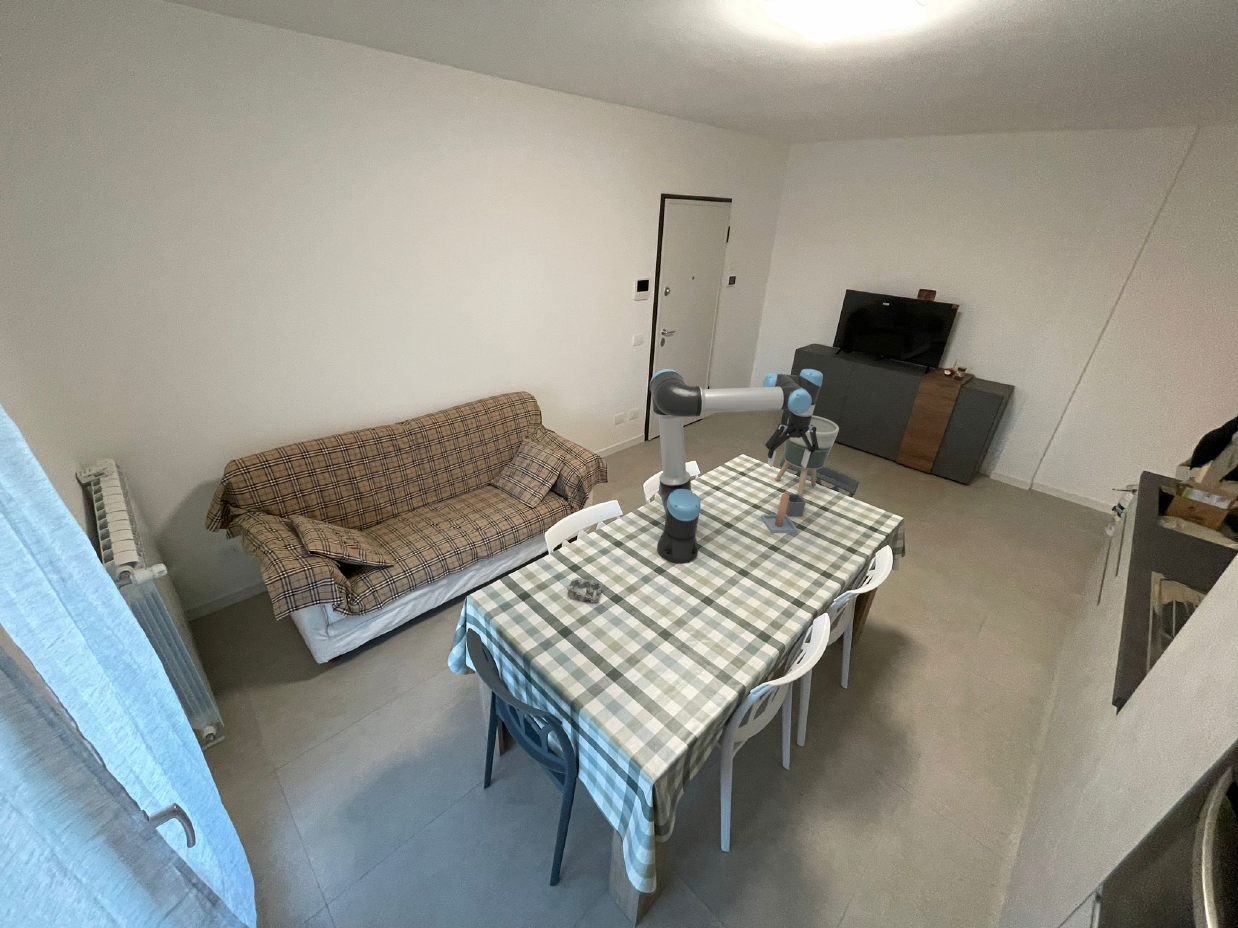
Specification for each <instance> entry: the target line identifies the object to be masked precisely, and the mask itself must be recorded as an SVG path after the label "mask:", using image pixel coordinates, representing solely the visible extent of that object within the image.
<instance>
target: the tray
mask: <svg viewBox="0 0 1238 928" xmlns="http://www.w3.org/2000/svg"><path fill="white" fill-rule="evenodd" d="M776 517H777V514H761V516H760V519H761V521H762V522H763V523H764V525H765V527H766V528H767V530H768V531H769V533H770V534H791V533H793V534H795V533H798V531H799V529H798V528H797V526H796V525H795V524H794V523H793V521H792V519H790V517H788V516H787V515H785V517H784V521H783V525H782V527H777V526H776V525H775V521H776Z"/></svg>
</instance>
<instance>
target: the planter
mask: <svg viewBox="0 0 1238 928" xmlns="http://www.w3.org/2000/svg"><path fill="white" fill-rule="evenodd" d="M811 416H812V418H811V422H810V425H809V426H811V425H814V426H815V427H816V428H817V429H816V437H817V442H818V447H819V449H818V450H815V452H814V453H812V455H811V458H810V459H808V463H807V466H806V468H804V467H803V466H802V465H801V462H802V459H803V455H804V452H805V449H808V448H807V446H806V444H805V442H804V441H803V439H802V437H800V438H797V437H796V438H792V437H791V438H790V439H787V440H786V441H785V442H784V451H783V459H784V463H783V465H782V467H780V470H779V472H778V473H777V475H776V477H775V479H774V480H775V481H777V482H779V481H780V480H781V478H782V477H783V476H784V474H785V473H786V471H787V470H788V469H789V467H790V465H792V466H794V467H796V468H800V470H801V471H800V476H799V482H798V488H797V494H799V495H800V496H801V498H802V499H803V494H804V489H805V486H806V481H807V477H808V476H807V475H808V474H809V473H808V472H809V470H810V482H811V483H810V485H811V486H812V487H816V485H817V470H819V469H822V468H823V467H824V466H825V464H826V462H827V460H828V457H829V454H830V452H831V450H832V448H833V445H834V444H835V440H836V439H837V436H838V433H839V431H840V428H839V425H838V424H837V423H835V422H834V421H832V420H830V419H828V418H825V417H821V416H817V415H813V414H812V415H811ZM788 419H789V417H788V418H787V420H788ZM787 424H788V421H787V423H786V425H787ZM805 434H806V436H807V438H808V440H809V442H810V444H811V445H812V441H811V436H810V431H809V430H808V431H807V432H806V433H805ZM787 435H788V434H787Z"/></svg>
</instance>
